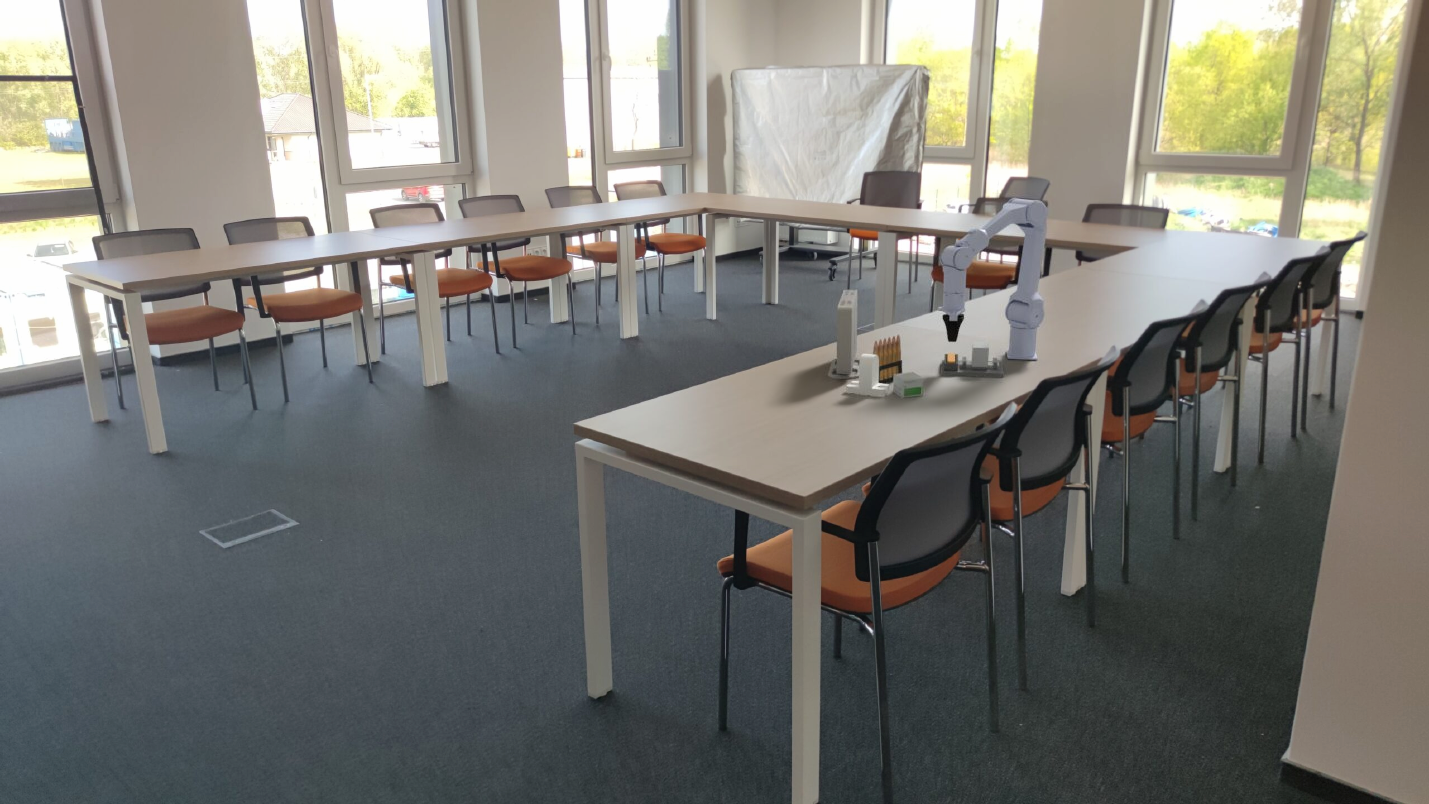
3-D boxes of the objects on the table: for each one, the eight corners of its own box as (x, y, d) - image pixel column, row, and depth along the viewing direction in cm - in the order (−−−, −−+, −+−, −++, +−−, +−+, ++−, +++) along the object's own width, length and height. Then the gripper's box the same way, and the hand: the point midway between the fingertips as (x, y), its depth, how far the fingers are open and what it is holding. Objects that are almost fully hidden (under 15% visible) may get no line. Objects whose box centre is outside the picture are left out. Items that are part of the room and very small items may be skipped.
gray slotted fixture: (944, 360, 266) (944, 353, 266) (997, 362, 263) (998, 355, 262) (943, 370, 257) (944, 363, 256) (999, 372, 254) (999, 365, 253)
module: (971, 362, 263) (972, 341, 261) (986, 363, 262) (988, 341, 260) (972, 369, 256) (973, 347, 255) (987, 370, 255) (988, 348, 254)
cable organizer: (883, 397, 239) (884, 358, 236) (845, 393, 244) (846, 355, 241) (889, 391, 244) (890, 353, 241) (852, 387, 248) (853, 350, 245)
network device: (859, 382, 252) (860, 308, 246) (826, 381, 254) (826, 307, 248) (864, 357, 276) (865, 288, 270) (834, 356, 278) (834, 288, 272)
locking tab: (947, 360, 265) (947, 353, 265) (954, 360, 265) (955, 353, 264) (947, 368, 257) (947, 361, 257) (954, 368, 257) (955, 361, 256)
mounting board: (941, 363, 268) (941, 359, 267) (1001, 365, 264) (1001, 361, 264) (941, 375, 256) (941, 371, 256) (1003, 377, 253) (1003, 373, 252)
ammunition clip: (875, 386, 248) (876, 341, 245) (869, 385, 250) (870, 340, 246) (902, 378, 255) (903, 334, 251) (896, 377, 256) (898, 333, 253)
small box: (902, 398, 238) (903, 379, 237) (892, 392, 244) (892, 373, 242) (923, 396, 240) (924, 377, 238) (912, 389, 245) (913, 371, 244)
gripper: (939, 286, 263) (937, 334, 267) (938, 296, 249) (936, 347, 253) (965, 286, 261) (963, 335, 265) (966, 297, 248) (964, 348, 252)
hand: (952, 341), depth 259 cm, fingers closed
